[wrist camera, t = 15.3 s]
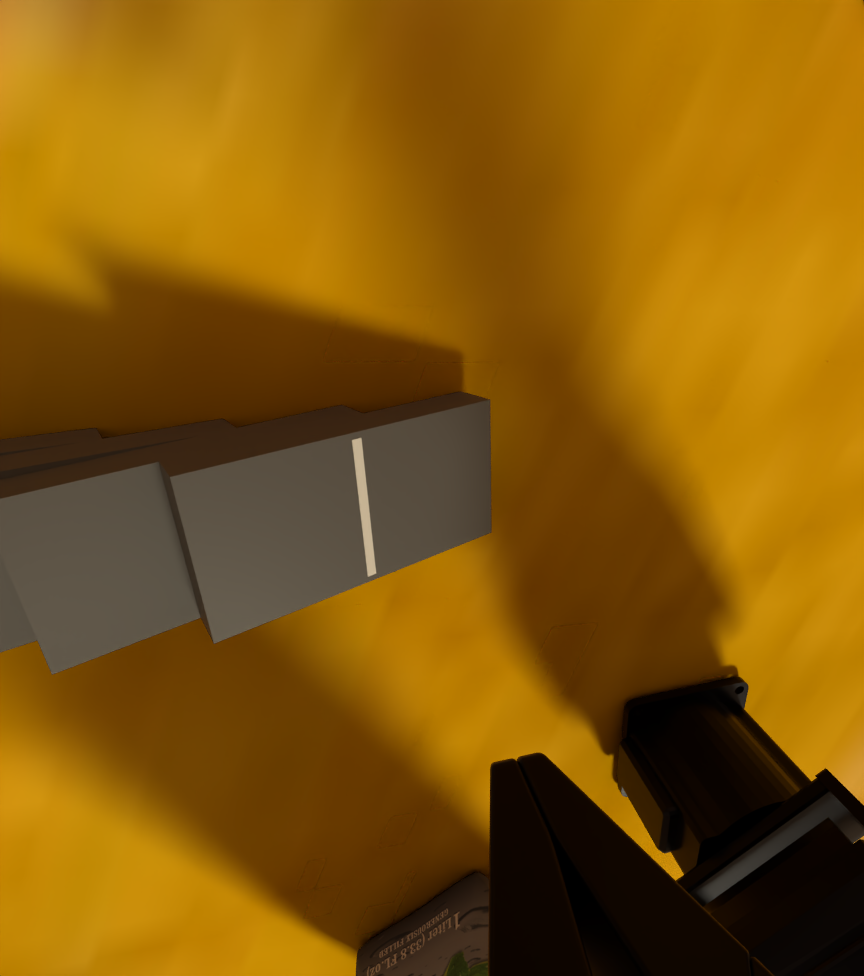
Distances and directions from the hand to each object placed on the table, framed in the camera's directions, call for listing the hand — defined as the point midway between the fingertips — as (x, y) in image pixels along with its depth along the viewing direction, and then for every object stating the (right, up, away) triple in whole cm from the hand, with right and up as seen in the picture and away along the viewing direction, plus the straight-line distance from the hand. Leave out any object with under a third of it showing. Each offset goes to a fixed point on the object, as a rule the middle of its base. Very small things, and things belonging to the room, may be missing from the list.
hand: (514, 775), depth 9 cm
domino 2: (-4, +5, +11) cm, 12 cm away
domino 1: (0, +5, +11) cm, 12 cm away
